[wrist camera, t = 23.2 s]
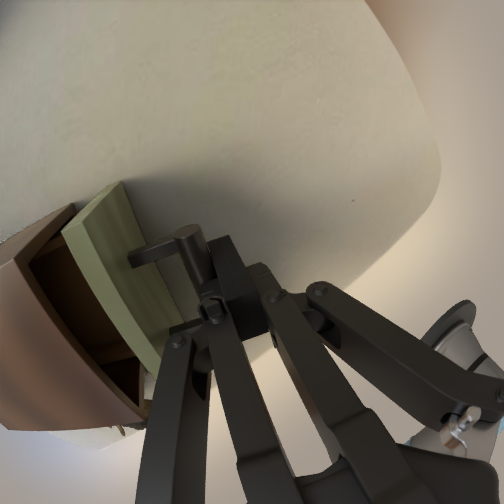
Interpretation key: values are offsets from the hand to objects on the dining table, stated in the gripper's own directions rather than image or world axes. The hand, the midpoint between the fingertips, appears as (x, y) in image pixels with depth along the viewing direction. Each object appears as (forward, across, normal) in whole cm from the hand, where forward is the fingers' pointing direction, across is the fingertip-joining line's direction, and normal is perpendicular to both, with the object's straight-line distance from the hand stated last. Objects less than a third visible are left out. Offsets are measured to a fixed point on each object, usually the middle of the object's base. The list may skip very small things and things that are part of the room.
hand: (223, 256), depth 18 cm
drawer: (+3, -11, 0) cm, 12 cm away
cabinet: (+3, -18, 0) cm, 18 cm away
